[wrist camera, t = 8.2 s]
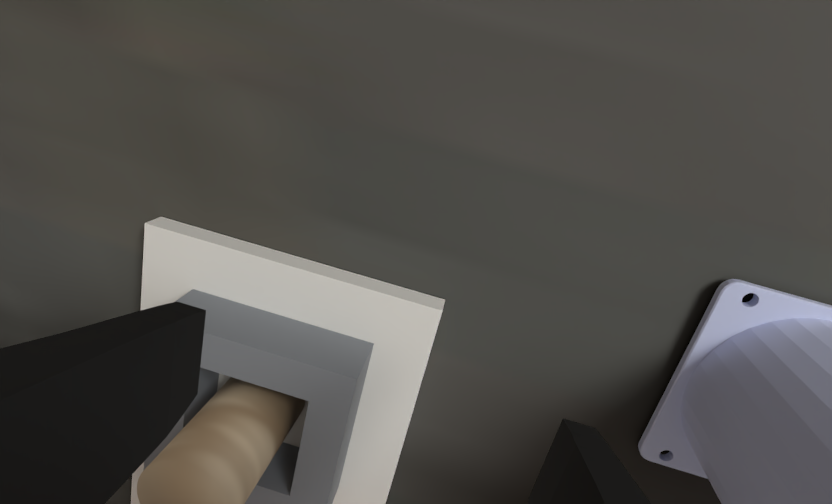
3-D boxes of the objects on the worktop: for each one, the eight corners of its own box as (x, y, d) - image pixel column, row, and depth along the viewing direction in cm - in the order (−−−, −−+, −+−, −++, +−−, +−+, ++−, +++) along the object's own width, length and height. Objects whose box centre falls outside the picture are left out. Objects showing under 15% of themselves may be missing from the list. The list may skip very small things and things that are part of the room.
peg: (311, 371, 20) (238, 481, 15) (299, 433, 22) (226, 555, 16) (238, 348, 21) (139, 447, 15) (229, 410, 22) (134, 523, 16)
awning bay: (445, 299, 20) (418, 410, 13) (363, 576, 25) (316, 750, 19) (161, 216, 20) (2, 281, 14) (143, 503, 26) (24, 645, 20)
